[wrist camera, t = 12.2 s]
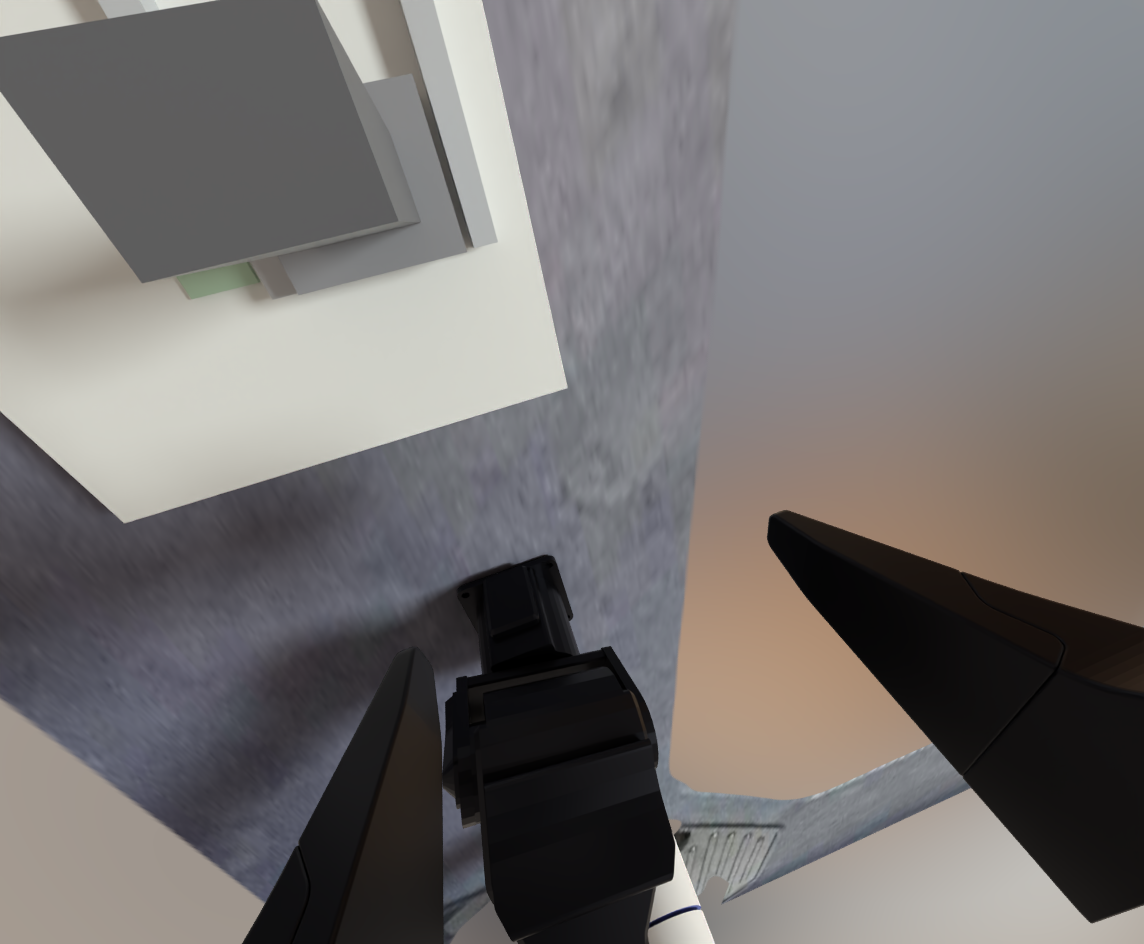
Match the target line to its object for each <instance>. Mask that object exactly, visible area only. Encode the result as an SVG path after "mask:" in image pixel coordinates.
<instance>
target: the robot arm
mask: <svg viewBox="0 0 1144 944" xmlns="http://www.w3.org/2000/svg"><path fill="white" fill-rule="evenodd" d="M767 540H768V543H769V545H770V547H771V549H772V550H773V551H774V553H775V554H776V556H777V557H778V559H779V560H780V562H781V563H782V564H783V566H784V567H785V569H786V570H787V571H788V572H789V574H790V576H791V577H792V579H793V580H794V581H795V583H796V584H797V586H798V587H799V588H800V590H801V591H802V592H803V594H804V595H805V596H806V598H807V599H808V600H809V601H810V602H811V604H812V605H813V606H814V607H815V608H816V609H817V611H818V612H819V613H820V614H821V615H822V616H823V617H824V619H825V620H826V621H827V622H828V623H829V624H830V626H831V627H832V628H833V629H834V630H835V631H836V632H837V633H838V635H839V636H840V637H841V638H842V639H843V640H844V642H845V643H846V644H847V645H848V646H849V647H850V648H851V650H852V651H853V652H854V653H855V654H856V655H857V657H858V658H860V660H861V661H862V662H863V664H864V665H865V666H866V667H867V668H868V669H869V670H870V672H871V673H872V674H873V675H874V676H875V677H876V678H877V680H878V681H879V682H880V683H881V684H882V685H883V686H884V688H885V689H886V690H887V691H888V692H889V693H890V695H891V696H892V697H893V698H894V699H895V700H896V701H897V703H898V704H899V705H900V706H901V707H902V708H903V709H904V711H905V712H906V713H907V714H908V715H909V716H910V717H911V719H912V720H913V721H914V722H915V723H916V724H917V725H918V727H919V728H920V729H921V730H922V731H923V732H924V733H925V735H926V736H927V737H928V738H929V739H930V740H931V742H932V743H933V744H934V745H935V746H936V747H937V749H938V750H939V751H940V752H941V753H942V754H943V755H944V757H945V758H946V759H947V760H948V761H949V762H950V764H951V765H952V766H953V767H954V768H955V769H956V770H957V772H958V773H959V774H960V775H962V776H963V779H964V780H965V781H966V782H967V783H968V785H969V786H970V787H971V788H972V789H973V790H974V791H975V793H977V795H978V796H979V797H980V798H981V799H982V801H983V802H984V803H985V804H986V805H987V806H988V807H989V809H990V810H991V811H992V812H993V813H994V814H995V816H996V817H997V818H998V819H999V820H1000V821H1001V823H1003V825H1004V826H1005V827H1006V828H1007V829H1008V831H1009V832H1010V833H1011V834H1012V835H1013V836H1014V837H1015V839H1016V840H1017V841H1018V842H1019V843H1020V844H1021V845H1022V846H1023V848H1024V849H1025V850H1026V851H1027V852H1028V853H1029V855H1030V856H1031V857H1032V858H1033V859H1034V860H1035V861H1036V863H1037V864H1038V865H1039V866H1040V867H1041V868H1042V869H1043V871H1044V872H1045V873H1046V874H1047V875H1048V876H1049V877H1050V879H1051V880H1052V881H1053V882H1054V883H1055V885H1056V886H1057V887H1058V888H1059V889H1060V890H1061V891H1062V893H1063V894H1064V895H1065V896H1066V897H1067V898H1068V899H1069V901H1070V902H1071V903H1072V904H1073V905H1074V906H1075V907H1076V908H1077V910H1078V911H1079V912H1080V913H1081V914H1082V915H1083V916H1084V917H1085V918H1086V919H1087V920H1088V921H1089V922H1090V923H1095V922H1098V921H1101V920H1103V919H1106V918H1109V917H1112V916H1115V915H1118V914H1121V913H1123V912H1126V911H1129V910H1132V909H1135V908H1137V907H1140V906H1143V905H1144V628H1143V627H1140V626H1136V625H1132V624H1129V623H1126V622H1123V621H1119V620H1116V619H1112V618H1109V617H1106V616H1102V615H1099V614H1095V613H1092V612H1088V611H1085V610H1082V609H1078V608H1075V607H1071V606H1068V605H1065V604H1061V603H1058V602H1054V601H1051V600H1048V599H1045V598H1041V597H1038V596H1034V595H1031V594H1028V593H1024V592H1022V591H1018V590H1015V589H1012V588H1009V587H1006V586H1003V585H1000V584H997V583H994V582H991V581H988V580H985V579H983V578H980V577H977V576H974V575H971V574H968V573H965V572H959V570H956V569H954V568H951V567H948V566H945V565H942V564H940V563H937V562H934V561H931V560H928V559H925V558H922V557H919V556H916V555H914V554H911V553H908V552H905V551H903V550H900V549H897V548H894V547H891V546H888V545H885V544H883V543H880V542H877V541H874V540H871V539H868V538H865V537H863V536H860V535H857V534H854V533H851V532H848V531H845V530H843V529H840V528H837V527H834V526H831V525H828V524H826V523H823V522H820V521H817V520H814V519H811V518H808V517H806V516H803V515H800V514H797V513H794V512H791V511H788V510H783V511H780V512H777V513H775V514H773V515H771V516H770V517H769V525H768V534H767ZM547 563H550V564H547ZM466 592H467V593H466ZM464 593H466V594H464ZM457 596H458V599H459V601H460V603H461V605H462V606H463V608H464V610H465V612H466V613H467V615H468V617H469V619H470V621H471V622H472V624H473V626H474V628H475V629H476V631H477V633H478V636H479V647H480V657H481V668H482V675H477V676H472V677H467V676H463V677H458V678H456V691H457V692H454V693H453V696H452V697H451V698H450V699H448V700H447V701H446V702H445V717H446V733H445V748H444V759H443V771H442V741H441V731H440V722H439V714H438V706H437V697H436V689H435V680H434V673H433V669H432V667H431V665H430V663H429V662H428V660H427V659H426V658H425V656H424V655H423V653H422V652H421V651H420V649H419V648H418V647H415V646H414V647H411V648H408V649H405V650H403V651H400V652H399V653H398V654H397V655H396V656H395V658H394V660H393V662H392V664H391V666H390V668H389V669H388V671H387V673H386V675H385V677H384V679H383V681H382V683H381V685H380V687H379V689H378V690H377V692H376V694H375V696H374V698H373V700H372V702H371V704H370V706H369V708H368V710H367V711H366V713H365V715H364V717H363V719H362V721H361V723H360V725H359V727H358V729H357V731H356V732H355V734H354V736H353V738H352V740H351V742H350V744H349V746H348V748H347V750H346V751H345V753H344V755H343V757H342V759H341V761H340V763H339V765H338V767H337V769H336V771H335V772H334V774H333V776H332V778H331V780H330V782H329V784H328V786H327V788H326V790H325V792H324V793H323V795H322V797H321V799H320V801H319V803H318V805H317V807H316V809H315V811H314V813H313V814H312V816H311V818H310V820H309V822H308V824H307V826H306V828H305V830H304V832H303V834H302V835H301V837H300V839H299V842H298V844H299V846H296V847H295V849H294V850H293V852H292V854H291V856H290V858H289V860H288V862H287V864H286V866H285V868H284V869H283V871H282V873H281V875H280V877H279V879H278V881H277V882H276V884H275V886H274V888H273V890H272V892H271V893H270V895H269V897H268V899H267V901H266V903H265V904H264V906H263V908H262V910H261V912H260V914H259V915H258V917H257V919H256V921H255V922H254V924H253V926H252V927H251V929H250V931H249V933H248V934H247V936H246V938H245V939H244V941H243V943H242V944H444V943H443V816H442V781H443V789H445V790H446V791H447V792H448V793H449V794H450V795H452V796H453V797H454V798H455V799H456V807H457V809H460V808H461V818H462V826H463V828H467V827H470V826H473V825H476V824H479V823H481V834H482V847H483V860H484V873H485V885H486V890H487V893H488V896H489V898H490V900H491V901H492V903H493V904H494V907H495V911H496V913H497V915H498V917H499V919H500V921H501V922H502V924H503V926H504V928H505V930H506V932H507V934H508V936H509V937H510V939H511V940H512V941H513V942H515V941H517V942H518V944H649V940H648V929H649V923H650V918H651V912H652V907H653V902H654V896H655V891H656V887H657V886H660V885H662V884H665V883H667V882H670V881H672V879H673V877H674V866H675V840H674V836H673V833H672V830H671V827H670V823H669V820H668V816H667V813H666V810H665V806H664V803H663V799H662V796H661V792H660V788H659V783H658V779H657V774H656V770H655V769H656V768H657V765H658V745H657V739H656V733H655V729H654V725H653V721H652V718H651V715H650V712H649V710H648V707H647V705H646V703H645V700H644V699H643V697H642V695H641V693H640V692H639V690H638V689H637V687H636V685H635V684H634V682H633V681H632V679H631V677H630V676H629V674H628V673H627V671H626V670H625V668H624V666H623V665H622V663H621V662H620V660H619V658H618V657H617V655H616V654H615V652H614V651H613V649H612V647H611V646H608V647H604V648H601V650H597V651H592V652H588V653H583V654H580V653H579V650H578V647H577V644H576V641H575V638H574V635H573V632H572V629H571V626H570V622H569V621H570V620H571V619H572V618H573V613H572V610H571V607H570V604H569V601H568V597H567V594H566V591H565V588H564V585H563V582H562V579H561V576H560V573H559V570H558V566H557V563H556V560H555V558H554V557H553V556H545V557H542V558H539V559H536V560H533V561H531V562H528V563H525V564H522V565H519V566H516V567H514V568H511V569H508V570H505V571H502V572H499V573H497V574H494V575H491V576H488V577H485V578H483V579H480V580H477V581H474V582H471V583H468V584H466V585H463V586H461V587H459V588H458V590H457Z"/></svg>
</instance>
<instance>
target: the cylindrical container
mask: <svg viewBox="0 0 1144 944" xmlns="http://www.w3.org/2000/svg"><path fill="white" fill-rule="evenodd" d="M673 836H674V835H673ZM674 840H675V838H674ZM700 908H701V906H700V904H699V901H698V898H697V895H696V893H695V890H694V888H693V885H692V882H691V880H690V877H689V875H688V872H687V869H686V867H685V864H684V862H683V859H682V856H681V854H680V851H679V848H678V846H677V843H676V841H675V866H674V877H673V879H672V881H670V882H667V883H665V884H662V885H660V886H657V887H656V891H655V896H654V902H653V907H652V912H651V918H650V923H649V929H648V940H649V944H715V943H714V940H713V937H712V935H711V932H710V930H709V927H708V924H707V922H706V919H705V917H704V914H703V911H702V910H700Z"/></svg>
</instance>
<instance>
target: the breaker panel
mask: <svg viewBox="0 0 1144 944" xmlns="http://www.w3.org/2000/svg"><path fill="white" fill-rule="evenodd" d="M209 1H215V0H0V37H3V36H9V35H14V34H20V33H26V32H32V31H38V30H44V29H50V28H56V27H62V26H68V25H74V24H79V23H85V22H91V21H97V20H103V19H109V18H115V17H121V16H127V15H133V14H139V13H144V12H150V11H156V10H162V9H168V8H174V7H180V6H186V5H192V4H198V3H204V2H209ZM318 2H319V4H320V6H321V8H322V9H323V11H324V13H325V15H326V17H327V19H328V20H329V22H330V24H331V26H332V28H333V30H334V31H335V33H336V35H337V37H338V39H339V41H340V42H341V44H342V46H343V48H344V50H345V52H346V53H347V55H348V57H349V59H350V61H351V63H352V64H353V66H354V68H355V70H356V72H357V74H358V75H359V77H360V79H361V81H362V83H367V82H372V81H377V80H382V79H387V78H392V77H397V76H402V75H407V74H412V75H413V78H414V81H415V84H416V88H417V91H418V94H419V97H420V101H421V104H422V107H423V110H424V113H425V117H426V120H427V123H428V126H429V130H430V133H431V136H432V139H433V143H434V146H435V149H436V152H437V156H438V159H439V162H440V165H441V169H442V172H443V175H444V178H445V182H446V185H447V188H448V191H449V195H450V198H451V201H452V204H453V207H454V211H455V214H456V217H457V220H458V224H459V227H460V230H461V233H462V237H463V240H464V243H465V246H466V250H467V252H466V253H462V254H458V255H454V256H450V257H446V258H442V259H439V260H435V261H431V262H427V263H423V264H419V265H415V266H411V267H407V268H403V269H400V270H396V271H392V272H388V273H384V274H380V275H376V276H372V277H368V278H364V279H361V280H357V281H353V282H349V283H345V284H341V285H337V286H333V287H329V288H325V289H322V290H318V291H314V292H310V293H306V294H302V295H298V293H297V291H296V289H295V288H294V286H293V284H292V282H291V280H290V278H289V277H288V275H287V273H286V271H285V269H284V268H283V266H282V264H281V262H280V260H279V258H278V257H277V256H274V257H269V258H264V259H259V260H254V261H249V262H245V263H240V264H235V265H230V266H225V267H220V268H215V269H210V270H205V271H200V272H196V273H191V274H186V275H181V276H176V277H171V278H166V279H161V280H156V281H151V282H147V283H142V282H141V281H140V280H139V278H138V277H137V276H136V274H135V273H134V272H133V270H132V269H131V268H130V266H129V265H128V264H127V262H126V261H125V260H124V258H123V257H122V255H121V254H120V253H119V251H118V250H117V249H116V247H115V246H114V245H113V243H112V242H111V241H110V239H109V238H108V237H107V235H106V234H105V233H104V231H103V230H102V228H101V227H100V226H99V224H98V223H97V222H96V220H95V219H94V218H93V216H92V215H91V214H90V212H89V211H88V210H87V208H86V207H85V206H84V204H83V203H82V201H81V200H80V199H79V197H78V196H77V195H76V193H75V192H74V191H73V189H72V188H71V187H70V185H69V184H68V183H67V181H66V180H65V179H64V177H63V176H62V174H61V173H60V172H59V170H58V169H57V168H56V166H55V165H54V164H53V162H52V161H51V160H50V158H49V157H48V156H47V154H46V153H45V152H44V150H43V149H42V147H41V146H40V145H39V143H38V142H37V141H36V139H35V138H34V137H33V135H32V134H31V133H30V131H29V130H28V129H27V127H26V126H25V125H24V123H23V122H22V120H21V119H20V118H19V116H18V115H17V114H16V112H15V111H14V110H13V108H12V107H11V106H10V104H9V103H8V102H7V100H6V99H5V98H4V96H3V95H2V93H1V92H0V411H1V412H2V413H3V414H4V415H5V416H6V417H7V418H8V419H9V420H11V421H12V422H13V423H14V424H15V425H16V426H17V427H18V428H19V429H21V430H22V431H23V432H24V433H25V434H26V435H27V436H28V437H29V438H30V439H32V440H33V441H34V442H35V443H36V444H37V445H38V446H39V447H40V448H42V449H43V450H44V451H45V452H46V453H47V454H48V455H49V456H50V457H52V458H53V459H54V460H55V461H56V462H57V463H58V464H59V465H60V466H61V467H63V468H64V469H65V470H66V471H67V472H68V473H69V474H70V475H71V476H73V477H74V478H75V479H76V480H77V481H78V482H79V483H80V484H81V485H82V486H84V487H85V488H86V489H87V490H88V491H89V492H90V493H91V494H92V495H94V496H95V497H96V498H97V499H98V500H99V501H100V502H101V503H102V504H104V505H105V506H106V507H107V508H108V509H109V510H110V511H111V512H112V513H113V514H115V515H116V516H117V517H118V518H119V519H120V520H121V521H122V522H123V523H127V522H131V521H134V520H137V519H140V518H144V517H147V516H150V515H154V514H157V513H160V512H163V511H167V510H170V509H173V508H176V507H180V506H183V505H186V504H190V503H193V502H196V501H199V500H203V499H206V498H209V497H212V496H216V495H219V494H222V493H225V492H229V491H232V490H235V489H239V488H242V487H245V486H248V485H252V484H255V483H258V482H261V481H265V480H268V479H271V478H275V477H278V476H281V475H284V474H288V473H291V472H294V471H297V470H301V469H304V468H307V467H311V466H314V465H317V464H320V463H324V462H327V461H330V460H333V459H337V458H340V457H343V456H347V455H350V454H353V453H356V452H360V451H363V450H366V449H369V448H373V447H376V446H379V445H383V444H386V443H389V442H392V441H396V440H399V439H402V438H405V437H409V436H412V435H415V434H419V433H422V432H425V431H428V430H432V429H435V428H438V427H441V426H445V425H448V424H451V423H454V422H458V421H461V420H464V419H468V418H471V417H474V416H477V415H481V414H484V413H487V412H490V411H494V410H497V409H500V408H504V407H507V406H510V405H513V404H517V403H520V402H523V401H526V400H530V399H533V398H536V397H540V396H543V395H546V394H549V393H553V392H556V391H559V390H562V389H566V388H567V383H566V378H565V374H564V369H563V365H562V360H561V356H560V351H559V347H558V342H557V338H556V333H555V329H554V324H553V320H552V315H551V311H550V306H549V302H548V297H547V293H546V288H545V284H544V279H543V275H542V270H541V266H540V261H539V257H538V252H537V247H536V243H535V238H534V234H533V229H532V225H531V220H530V216H529V211H528V207H527V202H526V198H525V193H524V189H523V184H522V180H521V175H520V171H519V166H518V162H517V157H516V153H515V148H514V144H513V139H512V135H511V130H510V126H509V121H508V117H507V112H506V107H505V103H504V98H503V94H502V89H501V85H500V80H499V76H498V71H497V67H496V62H495V58H494V53H493V49H492V44H491V40H490V35H489V31H488V26H487V22H486V17H485V13H484V8H483V4H482V0H318Z"/></svg>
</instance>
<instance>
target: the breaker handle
mask: <svg viewBox="0 0 1144 944" xmlns="http://www.w3.org/2000/svg"><path fill="white" fill-rule="evenodd" d="M0 92H1V93H2V95H3V96H4V98H5V99H6V100H7V102H8V103H9V104H10V106H11V107H12V108H13V110H14V111H15V112H16V114H17V115H18V116H19V118H20V119H21V120H22V122H23V123H24V125H25V126H26V127H27V129H28V130H29V131H30V133H31V134H32V135H33V137H34V138H35V139H36V141H37V142H38V143H39V145H40V146H41V147H42V149H43V150H44V152H45V153H46V154H47V156H48V157H49V158H50V160H51V161H52V162H53V164H54V165H55V166H56V168H57V169H58V170H59V172H60V173H61V174H62V176H63V177H64V179H65V180H66V181H67V183H68V184H69V185H70V187H71V188H72V189H73V191H74V192H75V193H76V195H77V196H78V197H79V199H80V200H81V201H82V203H83V204H84V206H85V207H86V208H87V210H88V211H89V212H90V214H91V215H92V216H93V218H94V219H95V220H96V222H97V223H98V224H99V226H100V227H101V228H102V230H103V231H104V233H105V234H106V235H107V237H108V238H109V239H110V241H111V242H112V243H113V245H114V246H115V247H116V249H117V250H118V251H119V253H120V254H121V255H122V257H123V258H124V260H125V261H126V262H127V264H128V265H129V266H130V268H131V269H132V270H133V272H134V273H135V274H136V276H137V277H138V278H139V280H140V281H141V282H142V283H147V282H151V281H156V280H161V279H166V278H171V277H176V276H181V275H186V274H191V273H196V272H200V271H205V270H210V269H215V268H220V267H225V266H230V265H235V264H240V263H245V262H249V261H254V260H259V259H264V258H269V257H274V256H277V257H278V258H279V260H280V262H281V264H282V266H283V268H284V269H285V271H286V273H287V275H288V277H289V278H290V280H291V282H292V284H293V286H294V288H295V289H296V291H297V293H298V295H302V294H306V293H310V292H314V291H318V290H322V289H325V288H329V287H333V286H337V285H341V284H345V283H349V282H353V281H357V280H361V279H364V278H368V277H372V276H376V275H380V274H384V273H388V272H392V271H396V270H400V269H403V268H407V267H411V266H415V265H419V264H423V263H427V262H431V261H435V260H439V259H442V258H446V257H450V256H454V255H458V254H462V253H466V252H467V250H466V246H465V243H464V240H463V237H462V233H461V230H460V227H459V224H458V220H457V217H456V214H455V211H454V207H453V204H452V201H451V198H450V195H449V191H448V188H447V185H446V182H445V178H444V175H443V172H442V169H441V165H440V162H439V159H438V156H437V152H436V149H435V146H434V143H433V139H432V136H431V133H430V130H429V126H428V123H427V120H426V117H425V113H424V110H423V107H422V104H421V101H420V97H419V94H418V91H417V88H416V84H415V81H414V78H413V75H412V74H407V75H402V76H397V77H392V78H387V79H382V80H377V81H372V82H367V83H362V81H361V79H360V77H359V75H358V74H357V72H356V70H355V68H354V66H353V64H352V63H351V61H350V59H349V57H348V55H347V53H346V52H345V50H344V48H343V46H342V44H341V42H340V41H339V39H338V37H337V35H336V33H335V31H334V30H333V28H332V26H331V24H330V22H329V20H328V19H327V17H326V15H325V13H324V11H323V9H322V8H321V6H320V4H319V2H318V0H215V1H209V2H204V3H198V4H192V5H186V6H180V7H174V8H168V9H162V10H156V11H150V12H144V13H139V14H133V15H127V16H121V17H115V18H109V19H103V20H97V21H91V22H85V23H79V24H74V25H68V26H62V27H56V28H50V29H44V30H38V31H32V32H26V33H20V34H14V35H9V36H3V37H0Z"/></svg>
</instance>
